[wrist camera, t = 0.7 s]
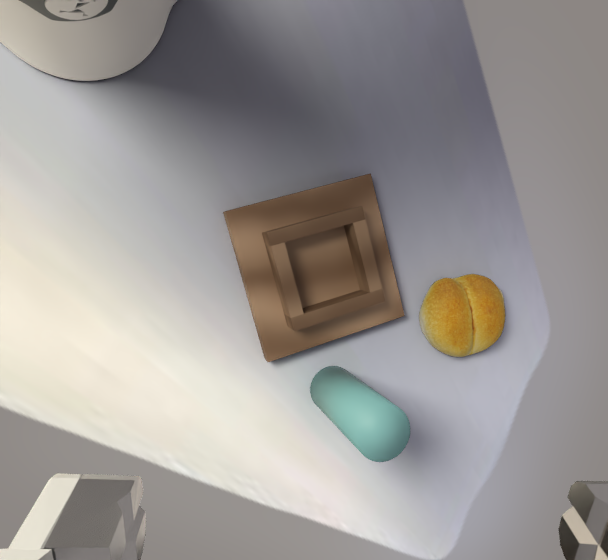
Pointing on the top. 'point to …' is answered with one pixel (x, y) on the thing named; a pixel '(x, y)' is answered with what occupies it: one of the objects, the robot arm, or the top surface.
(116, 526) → the robot arm
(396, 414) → the teal post
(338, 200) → the walnut base
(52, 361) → the top surface
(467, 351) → the bread roll
